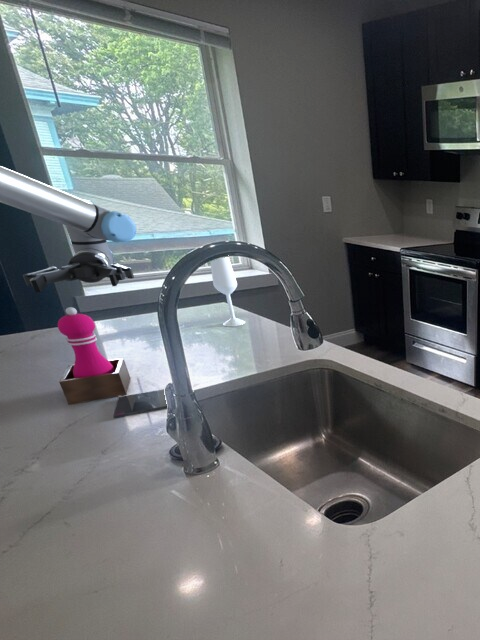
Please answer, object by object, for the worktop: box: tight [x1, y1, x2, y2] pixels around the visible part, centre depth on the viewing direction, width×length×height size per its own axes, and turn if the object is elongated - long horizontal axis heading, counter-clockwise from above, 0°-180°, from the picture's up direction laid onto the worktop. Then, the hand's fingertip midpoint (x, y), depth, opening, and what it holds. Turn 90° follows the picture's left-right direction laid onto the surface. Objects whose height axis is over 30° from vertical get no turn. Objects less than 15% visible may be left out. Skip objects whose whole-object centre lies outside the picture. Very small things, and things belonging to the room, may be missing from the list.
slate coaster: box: [113, 388, 168, 419], centre depth 104 cm, size 10×10×1 cm
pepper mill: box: [57, 306, 115, 378], centre depth 104 cm, size 7×7×20 cm
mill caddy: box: [58, 357, 131, 405], centre depth 108 cm, size 10×10×6 cm
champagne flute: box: [209, 256, 246, 327], centre depth 150 cm, size 7×7×24 cm
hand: (75, 283), depth 108 cm, fingers open, 13 cm apart
